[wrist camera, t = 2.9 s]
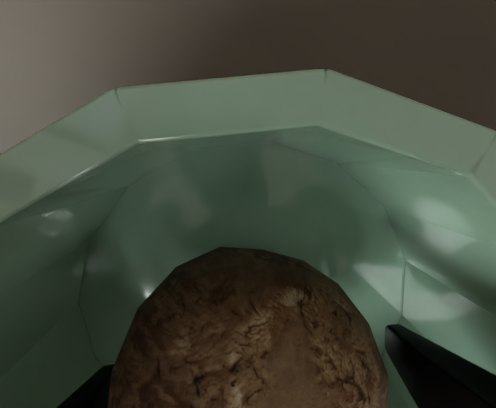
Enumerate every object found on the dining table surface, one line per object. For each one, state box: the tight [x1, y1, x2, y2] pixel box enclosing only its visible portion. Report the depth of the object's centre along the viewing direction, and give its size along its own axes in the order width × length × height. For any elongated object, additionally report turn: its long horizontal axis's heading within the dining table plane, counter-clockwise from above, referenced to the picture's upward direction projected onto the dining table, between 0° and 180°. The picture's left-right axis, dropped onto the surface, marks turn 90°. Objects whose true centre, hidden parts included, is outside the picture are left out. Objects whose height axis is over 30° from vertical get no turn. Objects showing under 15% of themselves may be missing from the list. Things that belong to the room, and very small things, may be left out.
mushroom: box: [108, 247, 388, 408], centre depth 7 cm, size 8×8×6 cm
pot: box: [0, 68, 496, 408], centre depth 7 cm, size 15×21×5 cm
